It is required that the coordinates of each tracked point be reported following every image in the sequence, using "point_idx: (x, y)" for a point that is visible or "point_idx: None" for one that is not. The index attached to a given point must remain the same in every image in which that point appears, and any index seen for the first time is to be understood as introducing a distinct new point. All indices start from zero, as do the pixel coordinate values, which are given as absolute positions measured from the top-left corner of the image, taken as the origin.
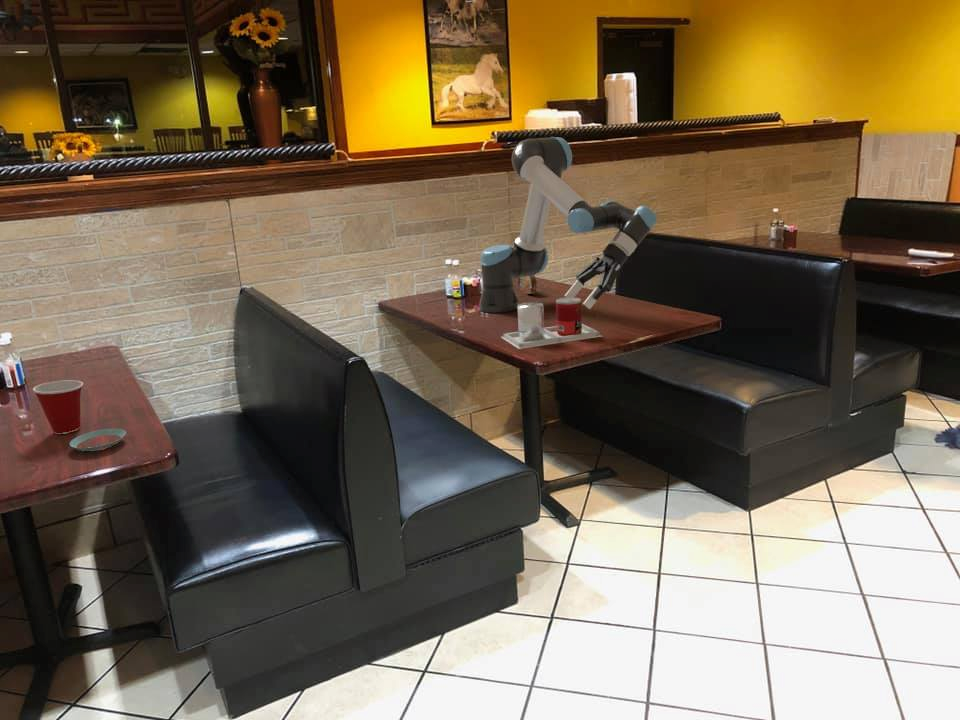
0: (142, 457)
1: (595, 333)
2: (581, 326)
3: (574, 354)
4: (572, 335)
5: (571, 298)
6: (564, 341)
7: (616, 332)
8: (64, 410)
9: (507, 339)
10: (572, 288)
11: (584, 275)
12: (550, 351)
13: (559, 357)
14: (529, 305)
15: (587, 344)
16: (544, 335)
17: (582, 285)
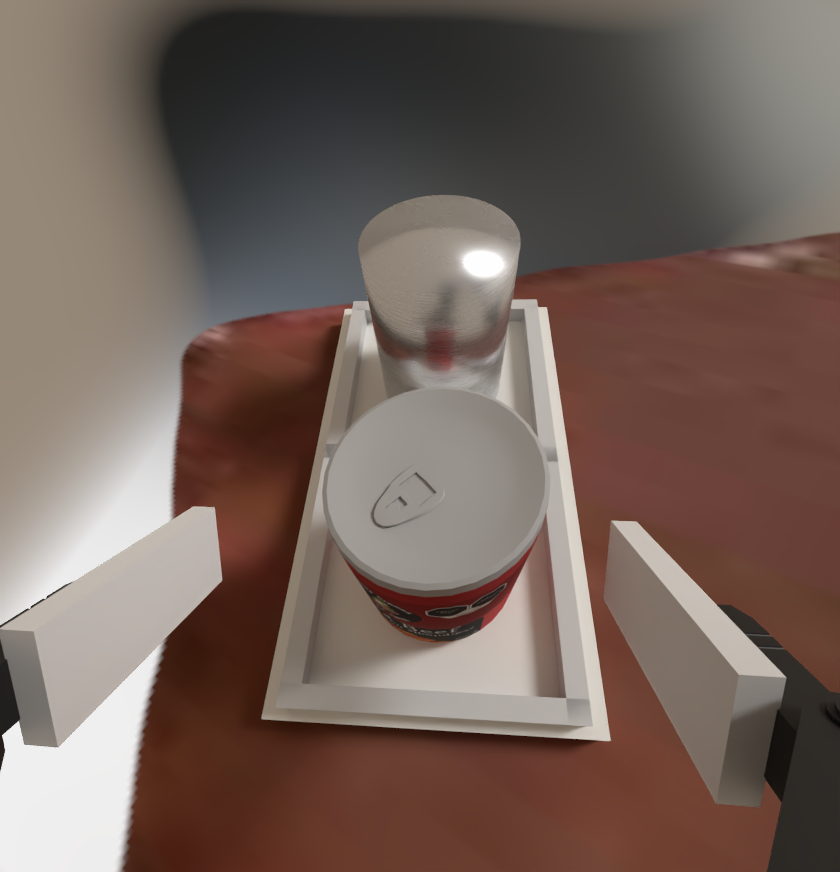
0: None
1: (284, 674)
2: (386, 618)
3: (190, 469)
4: (321, 520)
5: (500, 536)
6: (318, 478)
7: None
8: None
9: None
10: (653, 585)
11: (778, 833)
12: (297, 412)
13: (205, 408)
14: (431, 234)
15: (273, 597)
16: None
17: (710, 774)
